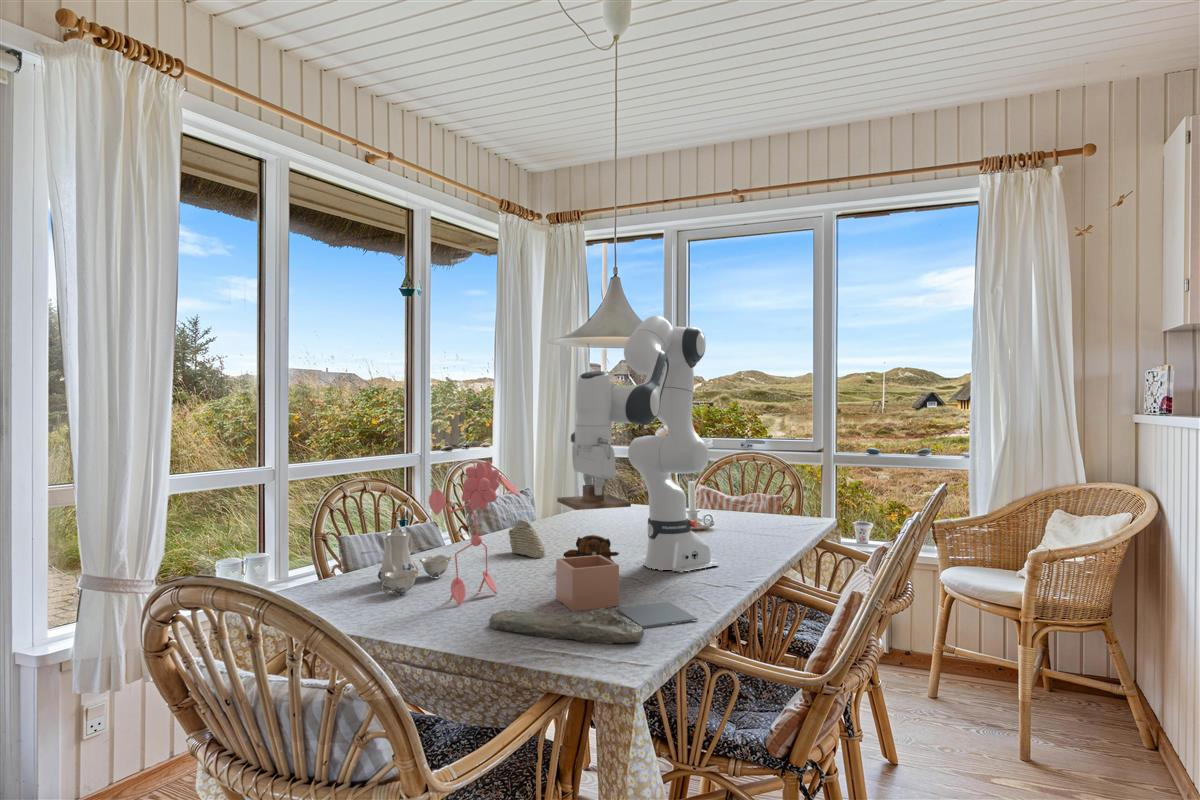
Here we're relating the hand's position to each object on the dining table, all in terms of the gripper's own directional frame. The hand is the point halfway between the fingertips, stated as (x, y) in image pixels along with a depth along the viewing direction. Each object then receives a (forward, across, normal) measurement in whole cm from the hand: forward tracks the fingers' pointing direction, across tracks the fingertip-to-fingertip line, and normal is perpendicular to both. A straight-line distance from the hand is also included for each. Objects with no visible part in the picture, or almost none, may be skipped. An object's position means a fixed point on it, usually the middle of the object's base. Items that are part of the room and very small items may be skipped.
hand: (593, 493), depth 174 cm
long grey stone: (+28, -18, +14) cm, 36 cm away
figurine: (+27, +11, +25) cm, 39 cm away
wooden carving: (+27, +32, -12) cm, 43 cm away
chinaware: (+28, +35, +40) cm, 60 cm away
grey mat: (+27, -14, -10) cm, 32 cm away
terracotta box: (+27, +2, +1) cm, 27 cm away
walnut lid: (+3, 0, 0) cm, 3 cm away
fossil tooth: (+27, +58, +1) cm, 64 cm away
